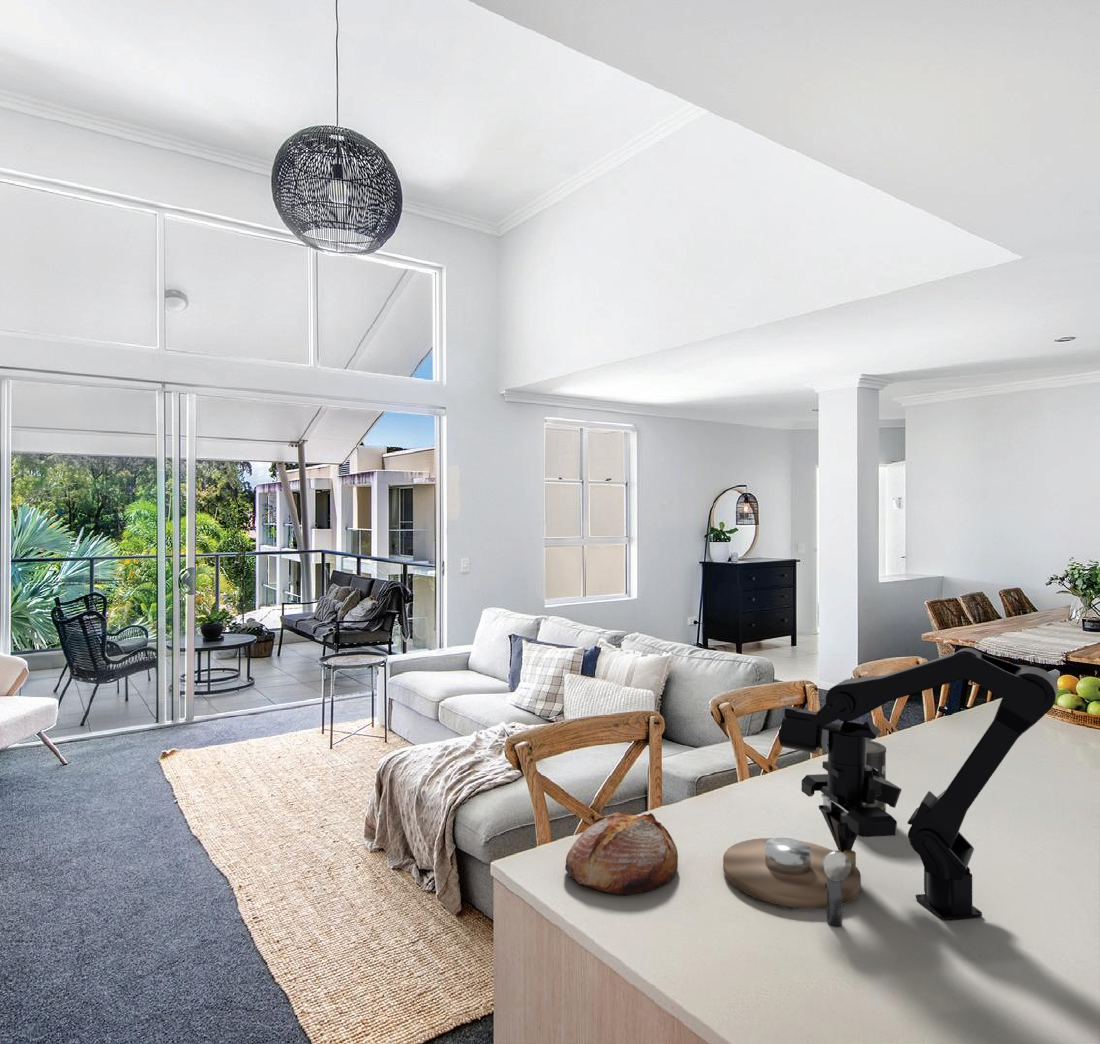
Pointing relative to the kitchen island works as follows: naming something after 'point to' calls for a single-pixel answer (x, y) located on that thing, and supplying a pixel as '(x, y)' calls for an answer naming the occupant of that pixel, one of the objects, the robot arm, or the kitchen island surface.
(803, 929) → the kitchen island surface
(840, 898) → the ice cream scoop
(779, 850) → the cover
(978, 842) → the kitchen island surface
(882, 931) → the kitchen island surface
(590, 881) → the bread
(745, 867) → the disc
